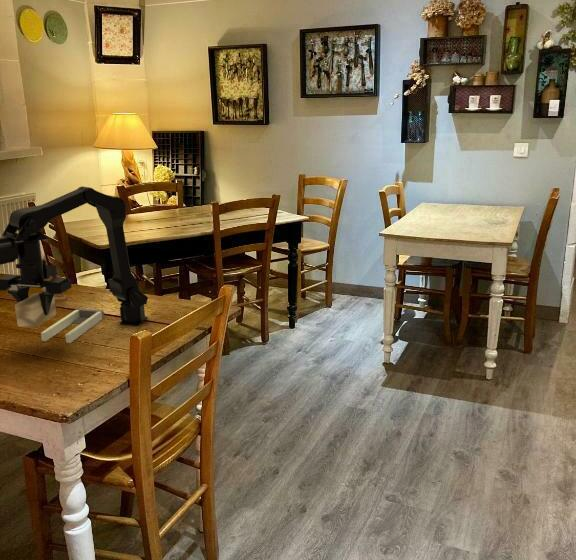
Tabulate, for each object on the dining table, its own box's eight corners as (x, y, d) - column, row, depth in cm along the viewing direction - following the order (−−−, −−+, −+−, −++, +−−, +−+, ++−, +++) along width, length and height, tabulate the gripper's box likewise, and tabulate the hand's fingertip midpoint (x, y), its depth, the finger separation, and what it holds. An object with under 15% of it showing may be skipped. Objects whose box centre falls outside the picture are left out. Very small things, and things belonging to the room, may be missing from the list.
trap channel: (104, 317, 185) (103, 310, 184) (70, 343, 166) (69, 335, 165) (78, 316, 186) (77, 308, 185) (41, 340, 167) (40, 332, 166)
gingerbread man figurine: (67, 297, 204) (63, 264, 200) (66, 300, 200) (62, 267, 197) (40, 299, 202) (35, 265, 198) (38, 302, 198) (33, 268, 195)
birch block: (56, 314, 162) (53, 293, 160) (35, 327, 152) (32, 306, 150) (39, 313, 162) (37, 292, 161) (17, 326, 153) (14, 304, 151)
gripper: (78, 252, 158) (85, 306, 163) (16, 249, 162) (24, 302, 166) (56, 263, 148) (63, 320, 153) (-10, 259, 151) (-1, 316, 156)
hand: (37, 314), depth 157 cm, fingers closed on birch block, 5 cm apart
